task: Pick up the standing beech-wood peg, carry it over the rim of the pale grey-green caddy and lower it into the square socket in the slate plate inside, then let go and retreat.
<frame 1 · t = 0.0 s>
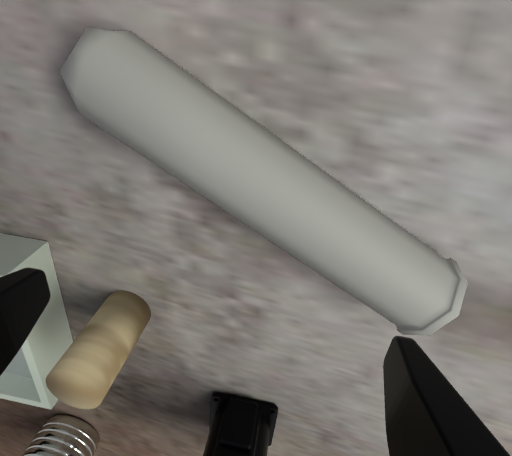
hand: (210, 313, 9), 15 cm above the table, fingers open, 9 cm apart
peg: (128, 308, 31), on the table
water bottle: (75, 428, 43), on the table
tube: (274, 171, 23), on the table
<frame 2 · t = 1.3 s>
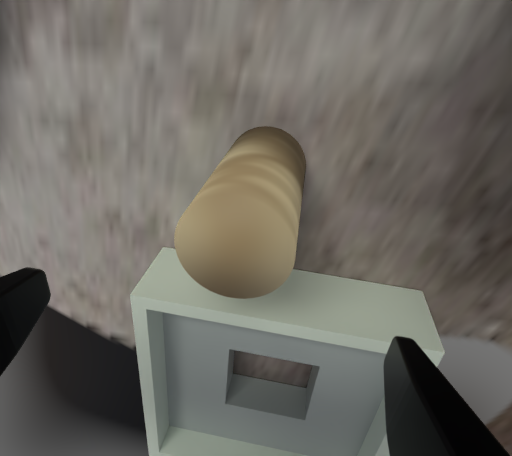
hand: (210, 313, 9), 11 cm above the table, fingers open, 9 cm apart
caddy: (273, 355, 25), on the table
peg: (266, 165, 18), on the table
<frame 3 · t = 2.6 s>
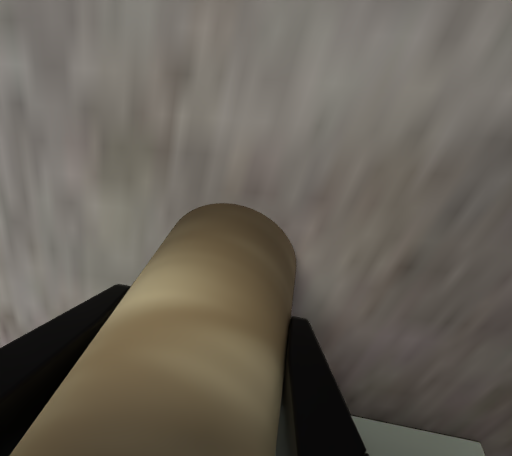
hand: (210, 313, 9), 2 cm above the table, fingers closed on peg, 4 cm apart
peg: (230, 262, 11), on the table, touching gripper
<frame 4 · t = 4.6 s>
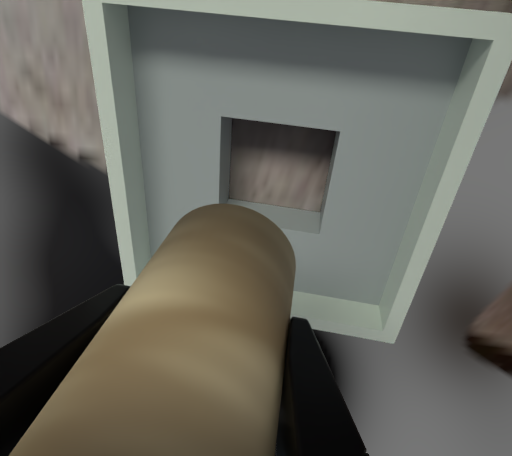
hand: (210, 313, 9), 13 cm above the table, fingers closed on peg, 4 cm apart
caddy: (279, 161, 20), on the table
peg: (230, 262, 11), point 11 cm above the table, touching gripper
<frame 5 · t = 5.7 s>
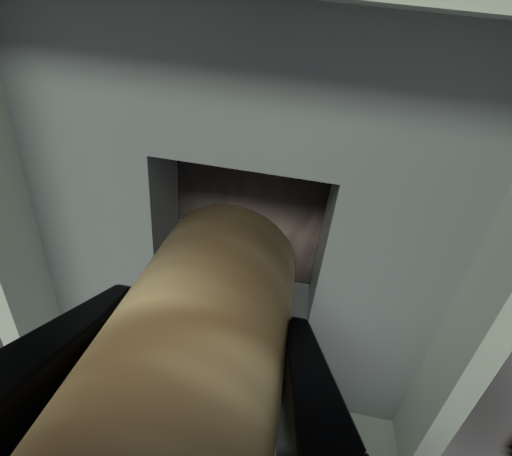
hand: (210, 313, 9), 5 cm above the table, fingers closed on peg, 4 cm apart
caddy: (248, 215, 14), on the table
peg: (230, 263, 11), point 3 cm above the table, touching gripper
when the fingers open (3 cm above the table, at t = 6.3 s): peg drops 1 cm, resting in caddy.
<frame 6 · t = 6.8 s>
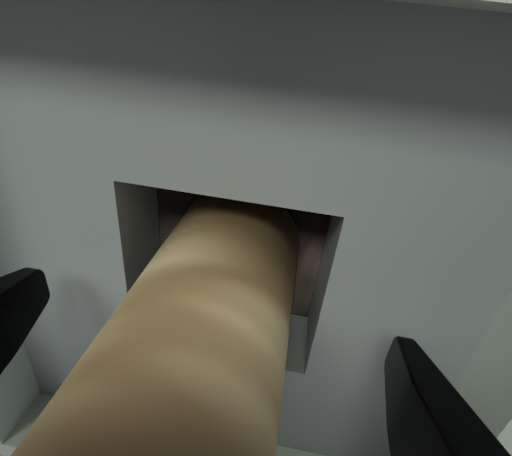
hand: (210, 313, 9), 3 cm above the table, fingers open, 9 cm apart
caddy: (238, 241, 12), on the table
peg: (239, 240, 12), resting in caddy
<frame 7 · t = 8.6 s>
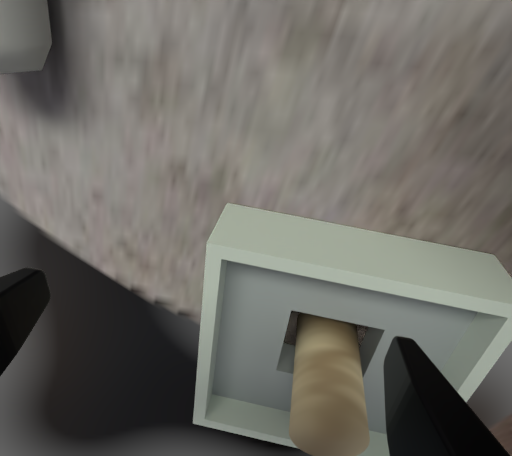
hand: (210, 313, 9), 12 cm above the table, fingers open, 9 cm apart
caddy: (326, 323, 25), on the table
peg: (326, 322, 25), resting in caddy
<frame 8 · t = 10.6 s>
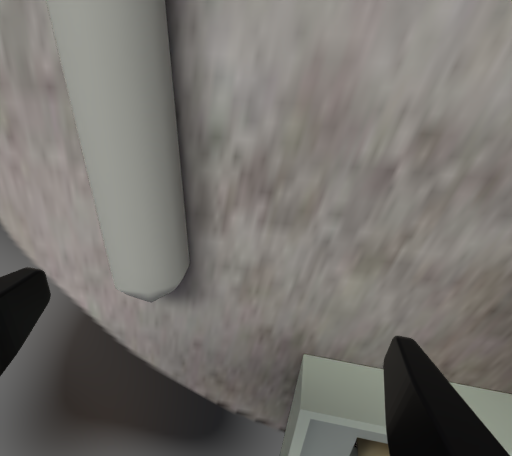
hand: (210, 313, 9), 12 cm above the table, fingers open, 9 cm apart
caddy: (380, 433, 30), on the table
peg: (380, 432, 30), resting in caddy
tube: (144, 77, 19), on the table
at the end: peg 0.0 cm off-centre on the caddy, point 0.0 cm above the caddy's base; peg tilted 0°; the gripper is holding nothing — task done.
